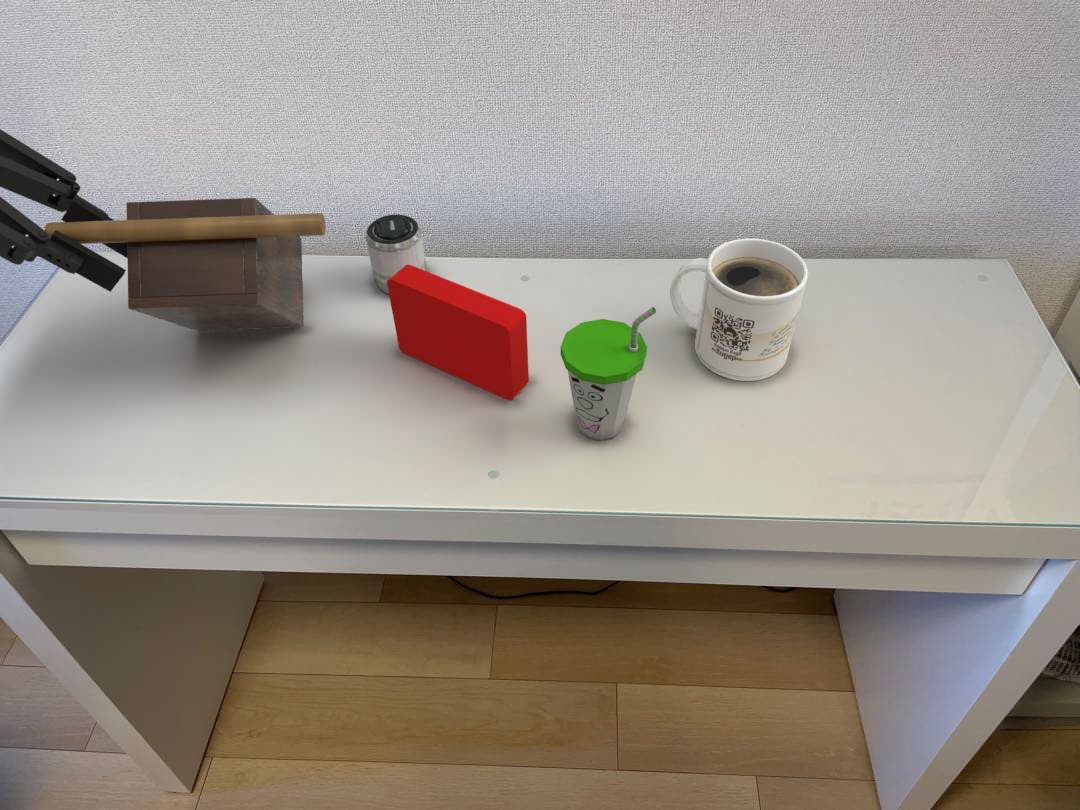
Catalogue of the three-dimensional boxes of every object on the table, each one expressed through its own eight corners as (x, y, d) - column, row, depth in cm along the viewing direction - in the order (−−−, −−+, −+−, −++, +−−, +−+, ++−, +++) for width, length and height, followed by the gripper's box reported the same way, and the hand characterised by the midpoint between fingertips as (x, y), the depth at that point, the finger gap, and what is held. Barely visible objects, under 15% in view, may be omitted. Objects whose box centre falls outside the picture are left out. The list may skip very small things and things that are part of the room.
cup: (545, 432, 84) (543, 315, 73) (587, 385, 88) (591, 268, 78) (613, 466, 81) (621, 349, 70) (653, 415, 85) (667, 298, 74)
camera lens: (423, 261, 104) (415, 205, 98) (432, 292, 99) (424, 236, 94) (371, 269, 103) (360, 214, 97) (378, 301, 98) (367, 245, 93)
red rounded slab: (529, 385, 89) (526, 310, 81) (513, 402, 87) (509, 328, 80) (416, 335, 94) (404, 262, 87) (399, 351, 93) (386, 277, 85)
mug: (720, 395, 87) (736, 311, 79) (661, 325, 95) (670, 242, 87) (805, 364, 90) (829, 281, 82) (742, 299, 98) (757, 217, 90)
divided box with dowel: (137, 333, 95) (135, 244, 95) (362, 324, 95) (359, 236, 96) (45, 307, 77) (43, 198, 77) (322, 297, 77) (319, 188, 78)
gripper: (-111, 88, 78) (135, 235, 90) (-225, 193, 65) (78, 346, 77) (-83, 27, 74) (170, 189, 86) (-198, 126, 62) (116, 298, 74)
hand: (126, 263), depth 82 cm, fingers open, 5 cm apart
